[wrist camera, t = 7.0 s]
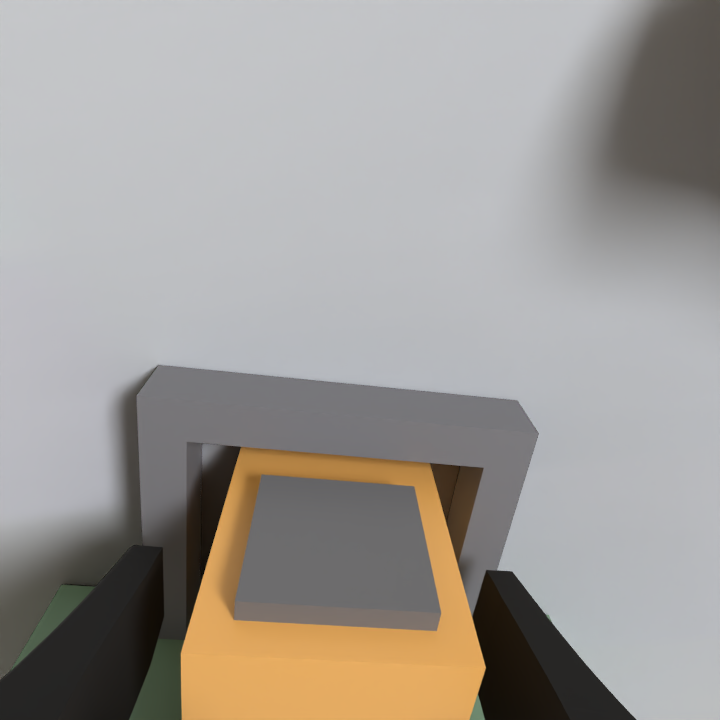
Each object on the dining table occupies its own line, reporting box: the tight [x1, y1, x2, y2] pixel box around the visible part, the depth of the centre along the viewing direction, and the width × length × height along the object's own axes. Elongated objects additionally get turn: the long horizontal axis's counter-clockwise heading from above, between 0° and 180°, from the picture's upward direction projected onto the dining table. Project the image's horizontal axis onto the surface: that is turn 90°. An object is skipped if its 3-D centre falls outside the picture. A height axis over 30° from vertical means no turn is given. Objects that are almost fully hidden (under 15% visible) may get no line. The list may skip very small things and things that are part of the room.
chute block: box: [181, 447, 486, 720], centre depth 11 cm, size 5×4×6 cm
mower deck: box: [11, 365, 551, 720], centre depth 13 cm, size 15×14×6 cm
